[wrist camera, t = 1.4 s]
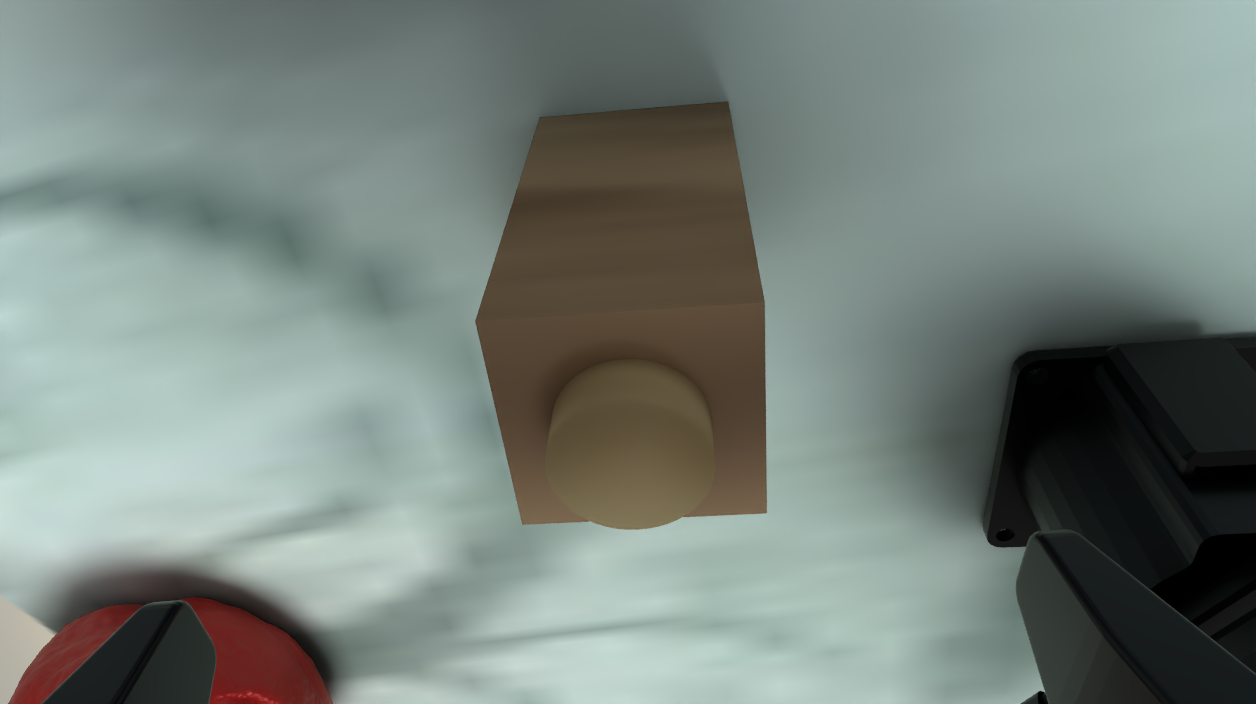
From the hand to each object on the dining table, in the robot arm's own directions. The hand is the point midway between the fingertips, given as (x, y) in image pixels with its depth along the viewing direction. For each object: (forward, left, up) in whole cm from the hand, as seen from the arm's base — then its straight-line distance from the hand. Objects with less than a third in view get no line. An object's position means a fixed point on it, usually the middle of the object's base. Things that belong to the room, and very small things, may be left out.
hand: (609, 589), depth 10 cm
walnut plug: (-1, 0, -12) cm, 12 cm away
